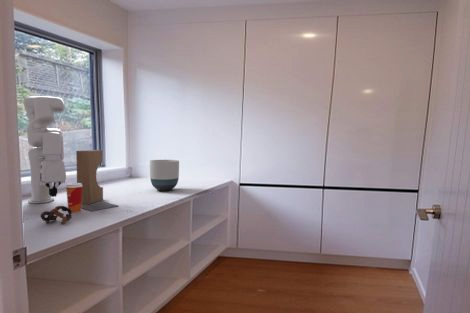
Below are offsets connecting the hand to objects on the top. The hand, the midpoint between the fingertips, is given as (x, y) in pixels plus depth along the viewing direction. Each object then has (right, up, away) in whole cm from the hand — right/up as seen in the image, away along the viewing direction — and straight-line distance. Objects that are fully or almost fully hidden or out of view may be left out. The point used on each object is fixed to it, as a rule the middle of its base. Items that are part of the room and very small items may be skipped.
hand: (53, 196), depth 144 cm
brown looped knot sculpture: (+9, -10, -13) cm, 19 cm away
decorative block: (+3, -8, +31) cm, 32 cm away
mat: (+14, -8, +18) cm, 24 cm away
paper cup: (+6, -9, +8) cm, 14 cm away
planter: (+37, -6, +72) cm, 81 cm away
